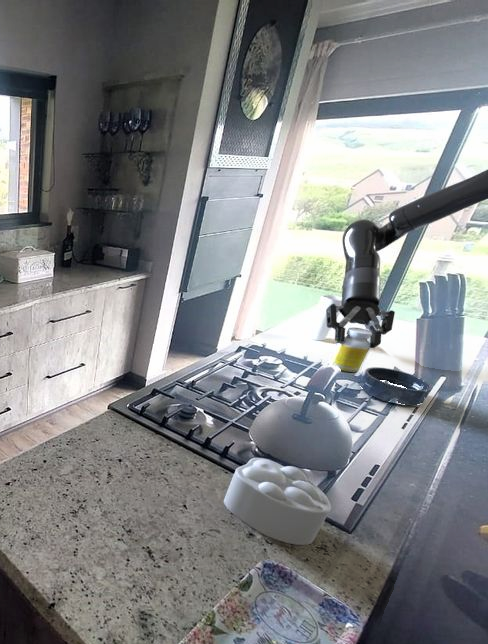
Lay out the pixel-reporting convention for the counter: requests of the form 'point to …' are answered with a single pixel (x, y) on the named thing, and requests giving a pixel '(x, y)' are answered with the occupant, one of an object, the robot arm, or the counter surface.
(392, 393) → the ring
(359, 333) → the pill bottle
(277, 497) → the lumpy-topped squat cylinder
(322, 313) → the drinking glass
